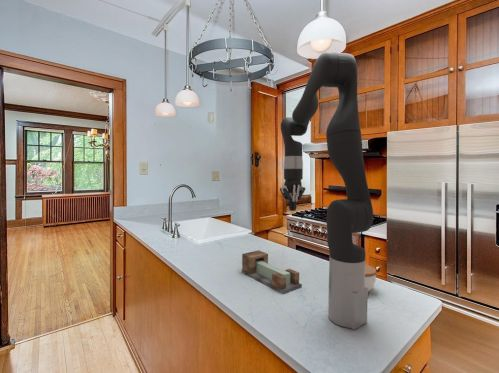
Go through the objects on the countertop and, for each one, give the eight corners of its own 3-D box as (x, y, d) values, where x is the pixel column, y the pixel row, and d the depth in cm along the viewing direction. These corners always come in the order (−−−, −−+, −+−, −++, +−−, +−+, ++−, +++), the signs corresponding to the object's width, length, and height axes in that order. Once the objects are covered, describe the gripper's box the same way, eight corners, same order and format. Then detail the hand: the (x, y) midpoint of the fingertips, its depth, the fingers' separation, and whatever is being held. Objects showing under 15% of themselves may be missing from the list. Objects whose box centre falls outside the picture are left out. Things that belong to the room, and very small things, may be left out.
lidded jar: (351, 280, 99) (352, 256, 99) (381, 290, 91) (382, 263, 90) (336, 288, 92) (336, 262, 92) (366, 300, 84) (367, 271, 83)
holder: (301, 287, 93) (302, 266, 93) (283, 294, 88) (283, 272, 87) (259, 267, 112) (259, 250, 112) (241, 272, 107) (241, 254, 107)
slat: (290, 284, 94) (290, 272, 93) (284, 286, 92) (284, 274, 92) (255, 267, 109) (255, 258, 109) (249, 269, 108) (249, 259, 107)
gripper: (288, 167, 100) (287, 213, 100) (311, 168, 107) (310, 210, 108) (274, 167, 106) (274, 210, 106) (297, 168, 113) (297, 208, 114)
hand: (292, 210), depth 107 cm, fingers closed
